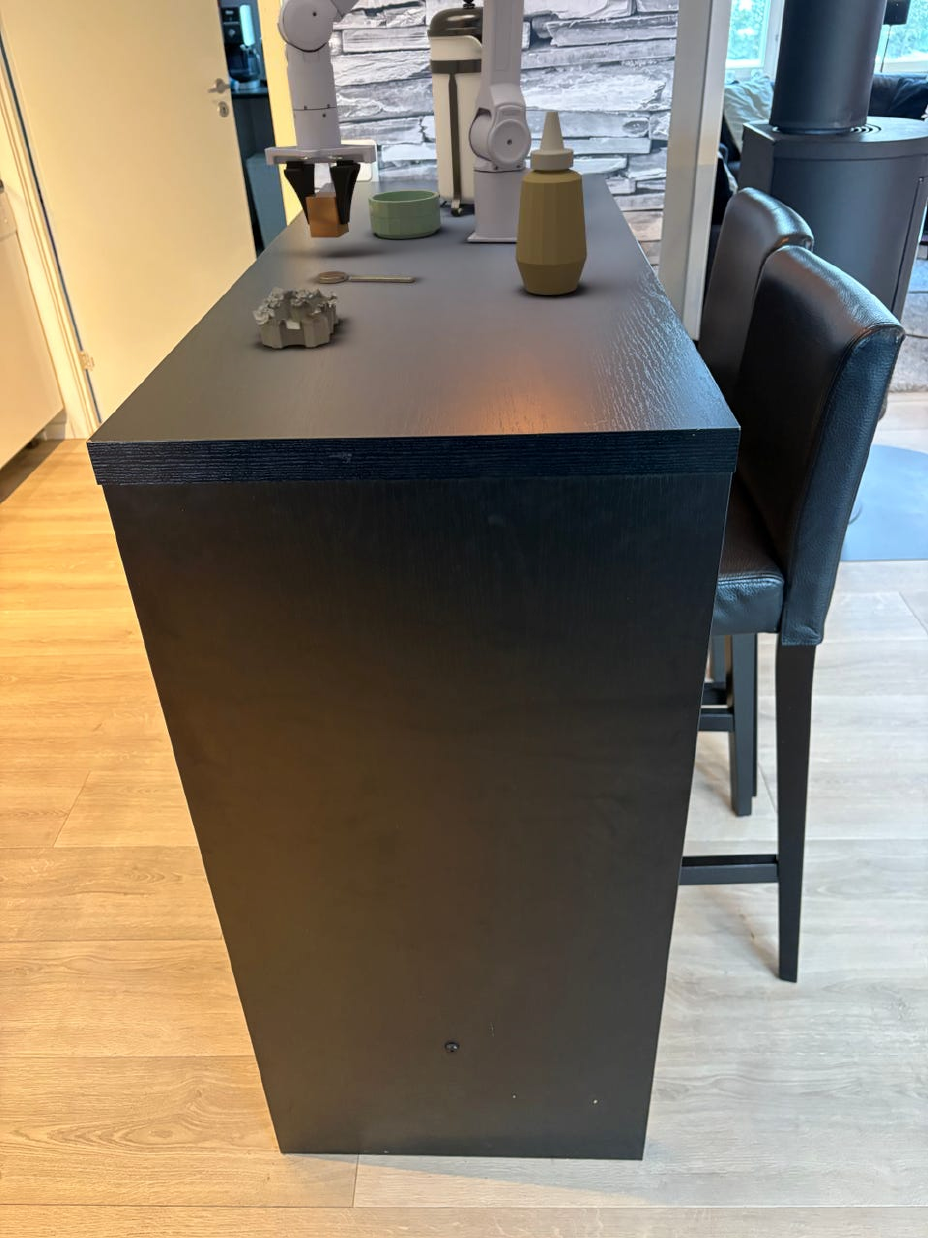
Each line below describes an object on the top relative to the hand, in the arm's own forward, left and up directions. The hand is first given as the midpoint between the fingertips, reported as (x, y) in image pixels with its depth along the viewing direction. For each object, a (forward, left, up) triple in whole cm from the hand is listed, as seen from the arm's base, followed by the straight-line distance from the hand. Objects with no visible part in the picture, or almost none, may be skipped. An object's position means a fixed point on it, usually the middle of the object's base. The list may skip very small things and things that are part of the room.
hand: (328, 223), depth 125 cm
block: (0, 0, -1) cm, 1 cm away
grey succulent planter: (-10, +35, -4) cm, 37 cm away
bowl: (-6, -15, -4) cm, 17 cm away
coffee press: (-11, -35, -4) cm, 37 cm away
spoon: (-9, +13, -4) cm, 16 cm away
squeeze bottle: (-33, +16, -4) cm, 37 cm away
